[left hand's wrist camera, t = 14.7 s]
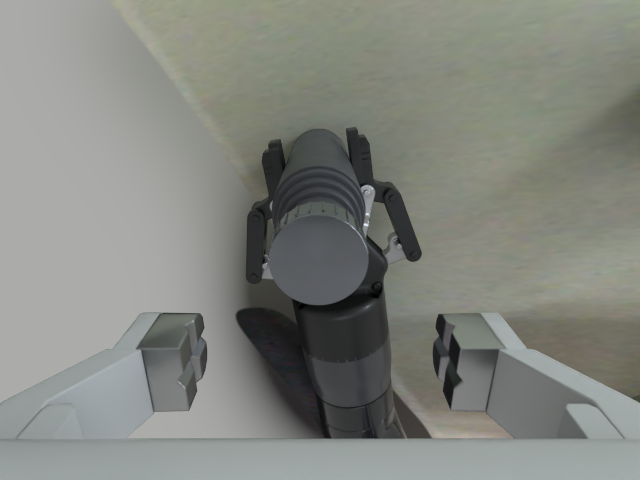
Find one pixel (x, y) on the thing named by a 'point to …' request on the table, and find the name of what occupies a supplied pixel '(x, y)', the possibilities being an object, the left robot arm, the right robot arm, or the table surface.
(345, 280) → the cap
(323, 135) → the bottle
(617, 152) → the table surface
